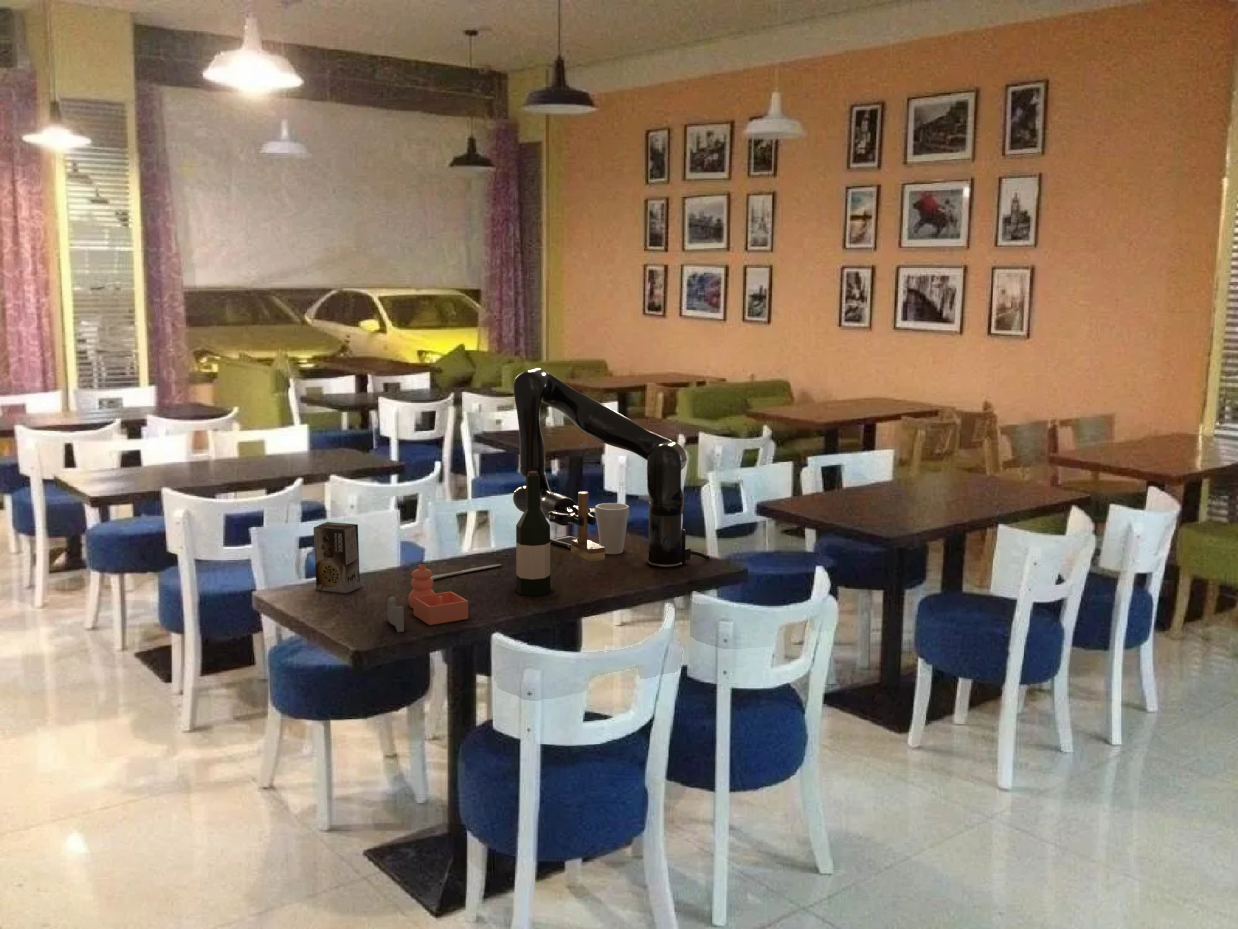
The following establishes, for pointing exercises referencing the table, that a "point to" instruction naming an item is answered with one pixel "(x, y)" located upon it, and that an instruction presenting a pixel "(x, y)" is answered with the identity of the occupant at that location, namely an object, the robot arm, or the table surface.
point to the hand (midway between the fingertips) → (588, 521)
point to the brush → (585, 535)
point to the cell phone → (564, 541)
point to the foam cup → (612, 526)
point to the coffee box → (336, 557)
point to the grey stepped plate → (395, 614)
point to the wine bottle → (533, 543)
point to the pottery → (434, 600)
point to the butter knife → (461, 572)
